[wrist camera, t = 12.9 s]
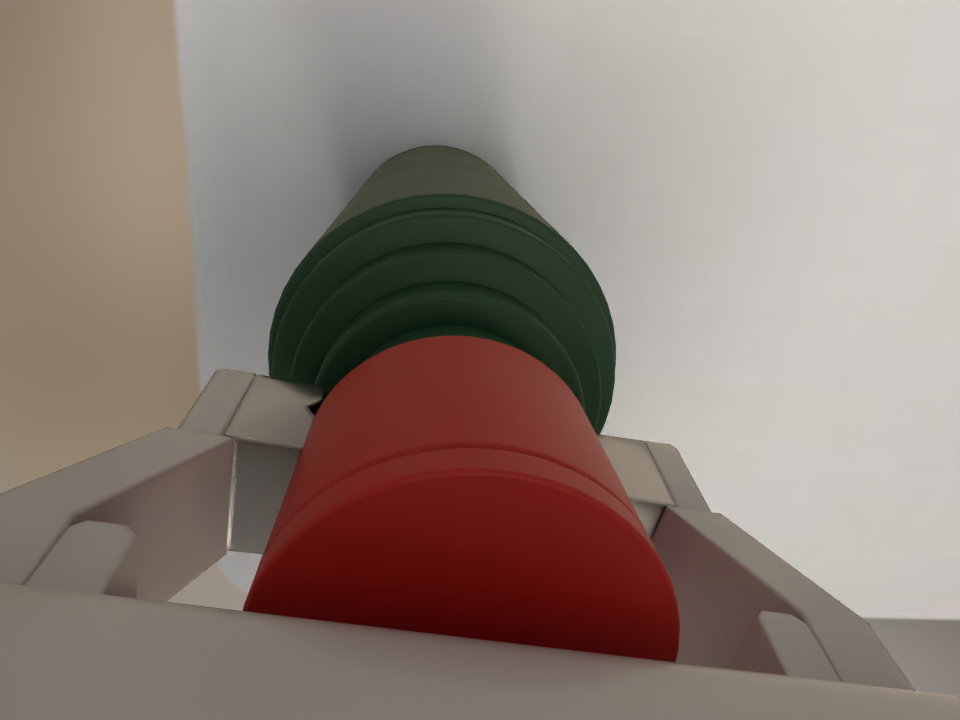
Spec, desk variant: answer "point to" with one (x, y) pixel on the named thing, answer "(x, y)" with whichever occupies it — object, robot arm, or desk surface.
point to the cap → (465, 511)
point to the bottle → (443, 280)
